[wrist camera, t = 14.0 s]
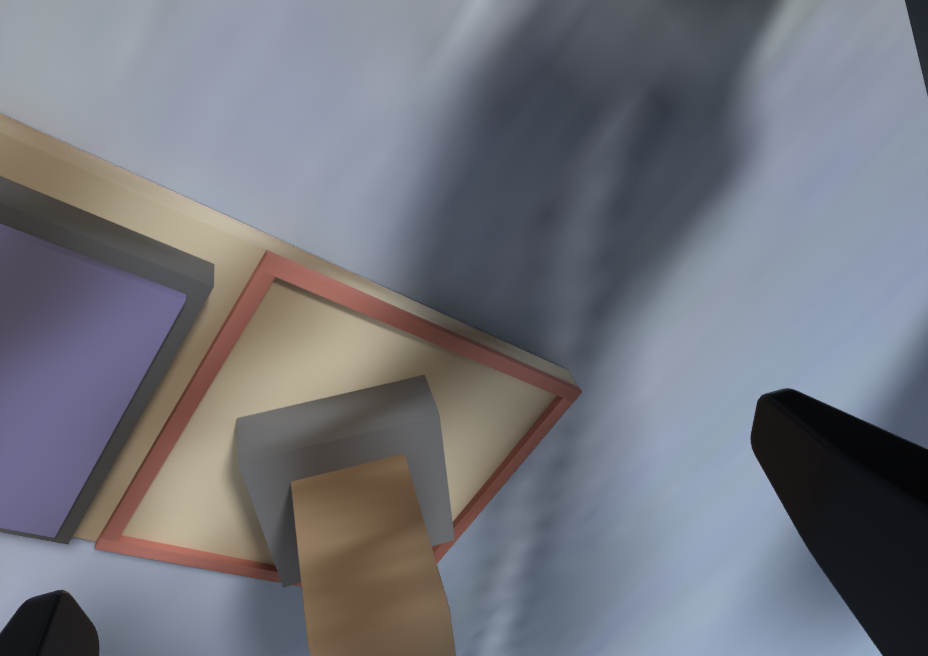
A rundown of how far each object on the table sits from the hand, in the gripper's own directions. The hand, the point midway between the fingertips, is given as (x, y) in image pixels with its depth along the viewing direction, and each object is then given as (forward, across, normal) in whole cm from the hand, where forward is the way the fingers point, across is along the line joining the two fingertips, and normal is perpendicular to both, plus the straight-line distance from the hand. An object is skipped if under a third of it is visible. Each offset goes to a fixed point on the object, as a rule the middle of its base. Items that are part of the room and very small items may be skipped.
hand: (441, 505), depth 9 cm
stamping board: (+13, +6, +6) cm, 16 cm away
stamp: (+12, +2, +10) cm, 16 cm away
